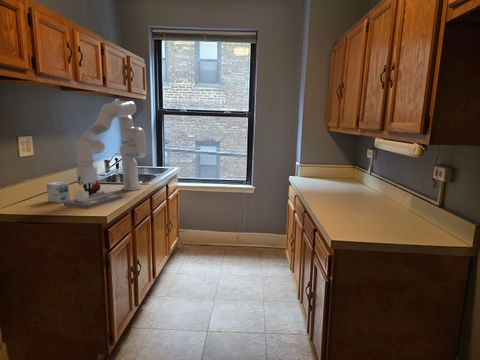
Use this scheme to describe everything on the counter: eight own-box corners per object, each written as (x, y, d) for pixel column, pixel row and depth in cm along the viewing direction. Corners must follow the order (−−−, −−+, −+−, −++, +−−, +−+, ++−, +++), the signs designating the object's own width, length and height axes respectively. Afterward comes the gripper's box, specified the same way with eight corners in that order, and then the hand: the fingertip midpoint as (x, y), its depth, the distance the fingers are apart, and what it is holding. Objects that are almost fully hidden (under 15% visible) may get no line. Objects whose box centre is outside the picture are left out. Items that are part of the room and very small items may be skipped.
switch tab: (82, 199, 184) (81, 190, 183) (89, 200, 182) (88, 191, 181) (76, 201, 180) (75, 192, 180) (83, 201, 179) (82, 192, 178)
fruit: (101, 193, 209) (100, 178, 207) (84, 195, 205) (83, 179, 203) (100, 190, 218) (99, 176, 217) (83, 192, 214) (82, 177, 212)
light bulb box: (70, 200, 191) (68, 182, 189) (60, 203, 185) (58, 184, 183) (58, 198, 195) (56, 181, 193) (47, 201, 189) (45, 183, 187)
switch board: (99, 195, 204) (99, 190, 203) (122, 198, 198) (121, 192, 197) (63, 205, 180) (63, 199, 180) (88, 208, 174) (87, 202, 173)
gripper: (91, 161, 189) (93, 191, 193) (69, 165, 176) (72, 197, 179) (100, 162, 187) (103, 192, 190) (79, 165, 173) (82, 198, 177)
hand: (88, 195), depth 185 cm, fingers closed
